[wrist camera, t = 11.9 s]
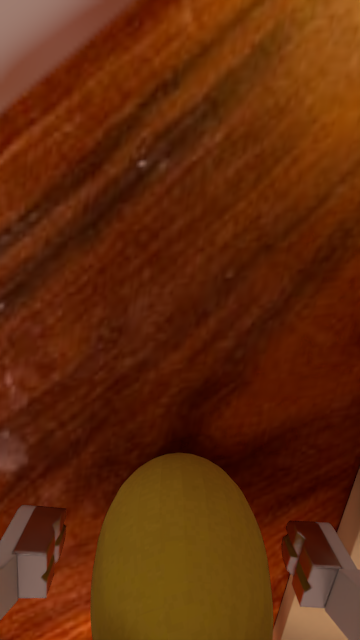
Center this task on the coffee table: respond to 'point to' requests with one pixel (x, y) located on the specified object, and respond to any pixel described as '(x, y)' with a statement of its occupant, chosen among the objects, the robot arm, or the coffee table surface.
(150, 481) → the lemon
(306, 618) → the spatula
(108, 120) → the coffee table surface
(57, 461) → the coffee table surface
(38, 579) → the robot arm
